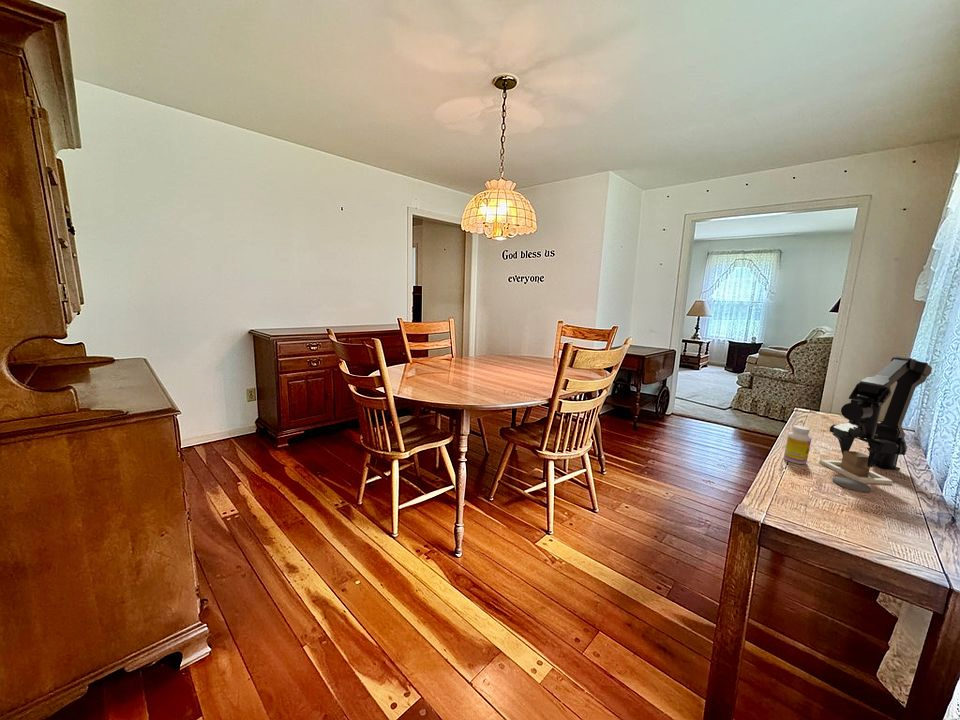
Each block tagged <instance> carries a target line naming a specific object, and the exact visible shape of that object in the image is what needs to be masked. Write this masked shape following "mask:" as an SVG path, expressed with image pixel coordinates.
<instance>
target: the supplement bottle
mask: <svg viewBox="0 0 960 720" xmlns="http://www.w3.org/2000/svg"><path fill="white" fill-rule="evenodd" d="M810 431H811V430H810V428H808V427H807V426H802V425H798V424H797V425H793V426H792V431H790V432H788V434H787V438H786V444H785V448H784V452H783V453H784V454H783V458H784V459H785V460H786V461H788V462H790V463H794V464H797V465H805V464H806V463H808V459H809V458H808V457H809V453H810V447H811V443H812V437H811V436H810V435H809V433H810Z"/></svg>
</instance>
